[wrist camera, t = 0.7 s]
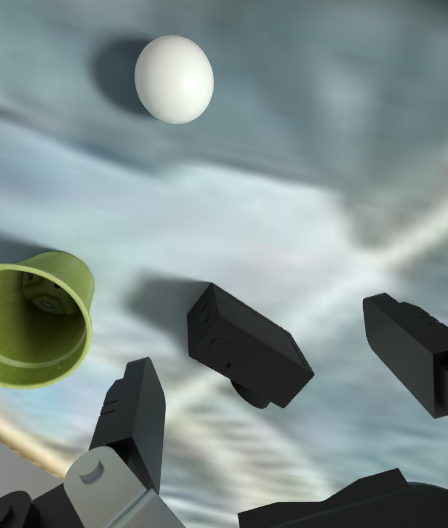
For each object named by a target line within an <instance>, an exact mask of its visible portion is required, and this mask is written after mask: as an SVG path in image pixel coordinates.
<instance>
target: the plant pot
mask: <svg viewBox="0 0 448 528" xmlns="http://www.w3.org/2000/svg"><path fill="white" fill-rule="evenodd" d="M29 273H34V274H33V276H32V279H31V280H30V279H29V278H28V276H29ZM55 283H56V284H58V285H59V286H60V287H59V288H56V287H55ZM93 293H94V280H93V277H92V275H91V273H90V271H89V269H88V267H87V266H86V265H85V264H84V262H82V261H81V260H80V259H79V258H77V257H75V256H73V255H71V254H68V253H65V252H59V251H51V252H45V253H41V254H39V255H36V256H33V257H31V258H29V259H26V260H24V261H21V262H18V263H16V264H15V263H0V387H4V388H9V389H36V388H42V387H46V386H49V385H52V384H55V383H57V382H59V381H61V380H63V379H64V378H66V377H67V376H69V375H70V374H72V373H73V372H74V371H75V370H76V369H77V368H78V367H79V366H80V365H81V363H82V362H83V360H84V359H85V357H86V355H87V353H88V351H89V348H90V344H91V339H92V323H91V318H90V315H89V310H90V306H91V301H92V297H93ZM42 301H45V302H47V303H49V304H51V305H54V306H56V307H57V308H50V307H47V306H45V305H43V303H42Z"/></svg>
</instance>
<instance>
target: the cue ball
mask: <svg viewBox="0 0 448 528" xmlns="http://www.w3.org/2000/svg"><path fill="white" fill-rule="evenodd" d="M213 85H214V79H213V72H212V68H211V65H210V63H209V61H208V59H207V57H206V55H205V54H204V52H203V51H202V50H201V49H200V48H199V47H198V46H197V45H196V44H195V43H193V42H192V41H191V40H189V39H187V38H184V37H181V36H176V35H166V36H162V37H159V38H157V39H154V40H153V41H151V42H150V43H149V44H148V45H147V46H146V47H145V48H144V49H143V51H142V52H141V54H140V56H139V58H138V60H137V63H136V67H135V86H136V90H137V93H138V96H139V98H140V100H141V102H142V104H143V105H144V107H145V108H146V109H147V110H148V111H149V112H150V113H151V114H152V115H153V116H154V117H156V118H157V119H159V120H161V121H164V122H167V123H171V124H183V123H187V122H190V121H192V120H194V119H195V118H197V117H198V116H200V115H201V114H202V113H203V111H204V110H205V109H206V107H207V106H208V104H209V102H210V100H211V97H212V93H213Z"/></svg>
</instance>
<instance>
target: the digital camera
mask: <svg viewBox="0 0 448 528" xmlns="http://www.w3.org/2000/svg"><path fill="white" fill-rule="evenodd" d="M194 313H195V314H194ZM193 315H194V316H193ZM187 325H188V350H189V356H190V357H191V358H193V359H195V360H197V361H199V362H200V363H202V364H204V365H206V366H208V367H209V368H211V369H213V370H215V371H217V372H218V373H220V374H222V375H224V376H225V377H227V378H229V379H230V380H231V383H232V385H233V387H234V388H235V390H236V391H237V392H238V394H239V395H240V396H241V397H242V398H243V399H244V400H245V401H247V402H248V403H249V404H251V405H252V406H254V407H256V408H260V409H264V408H266V407H267V406H268V404H269V403H270V402H272V403H274V404H276V405H277V406H279V407H281V408H285V407H286V406H287V405H288V404H289V403H290V402H291V400H292V399H293V398H294V397H295V396H296V395H297V394H298V393H299V392H300V391H301V389H302V388H303V387H304V386H305V385H306V384H307V383H308V382H309V381H310V380H311V379H312V378H313V376H314V375H315V374H314V372H313V371H312V369H311V367H310V365H309V364H308V362H307V360H306V359H305V357H304V355H303V354H302V352H301V350H300V349H299V347H298V345H297V344H296V342H295V340H294V339H293V337H292V335H291V334H290V333H289V332H287V331H286V330H284V329H283V328H281V327H280V326H278V325H277V324H275V323H274V322H272V321H271V320H269V319H267V318H266V317H264V316H263V315H261V314H260V313H258V312H257V311H255V310H254V309H252V308H251V307H249V306H247V305H246V304H244V303H243V302H241V301H240V300H238V299H237V298H235V297H234V296H232V295H231V294H229V293H228V292H226V291H224V290H223V289H221V288H220V287H218V286H217V285H215V284H214V283H211V284H210V286H209V287H208V288H207V289H206V291H205V292H204V293H203V295H202V296H201V297H200V298H199V300H198V301H197V302H196V304H195V305H194V306H193V308H192V309H191V310H190V311H189V313H188V314H187Z"/></svg>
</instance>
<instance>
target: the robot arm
mask: <svg viewBox="0 0 448 528" xmlns="http://www.w3.org/2000/svg"><path fill="white" fill-rule="evenodd" d="M363 312H364V321H365V330H366V337H367V340H368V343H369V345H370V347H371V349H372V350H373V351H374V352H375V354H376V355H377V356H378V357H379V358H380V359H381V360H382V361H383V362H384V364H385V365H386V366H387V367H388V368H389V369H390V370H391V371H392V372H393V373H394V375H395V376H396V377H397V378H398V379H399V380H400V381H401V382H402V383H403V385H404V386H405V387H406V388H407V389H408V390H409V391H410V392H411V393H412V395H413V396H414V397H415V398H416V399H417V400H418V401H419V402H420V403H421V405H422V406H423V407H424V408H425V409H426V410H427V411H428V412H429V413H430V415H431V416H432V417H433V418H434V419H436V418H440V417H443V416H447V415H448V327H447V326H446V325H444V324H443V323H440V322H439V321H438V320H437V319H436V318H434V317H433V316H430V314H428V313H427V312H426V311H424V310H423V309H421V308H420V307H418V306H415V305H412V304H409V303H406V302H401V303H399V302H397V301H396V300H395V299H393V298H392V297H391V296H389V295H388V294H387V293H382V294H378V295H374V296H371V297H367V298H364V299H363ZM103 404H104V406H102V409H101V413H100V415H101V416H99V419H98V422H97V425H96V428H95V432H94V435H93V438H92V441H91V444H90V447H89V451H88V452H86V453H84V454H83V455H82V456H80V457H79V458H78V459H77V460H76V461H75V462H74V463H73V464H72V466H71V467H70V468H69V470H68V472H67V474H66V476H65V479H64V483H62V484H61V485H59V486H57V487H55V488H54V489H52V490H50V491H48V492H47V493H45V494H43V495H41V496H39V497H38V498H36V499H34V500H32V498H31V497H30V496H29V494H28V493H27V492H25V491H15V492H11V493H9V494H7V495H5V496H3V497H1V498H0V528H186V527H185V526H184V525H183V524H182V523H181V521H180V520H179V519H178V518H177V517H176V516H175V514H174V513H173V512H172V511H171V510H170V509H169V507H168V506H167V505H166V504H165V503H164V502H163V500H162V499H161V498H160V497H159V496H158V495H159V490H160V476H161V463H162V450H163V437H164V423H165V410H166V403H165V396H164V392H163V389H162V387H161V384H160V381H159V379H158V376H157V374H156V371H155V369H154V366H153V364H152V361H151V359H150V358H149V357H146V358H142V359H139V360H135V361H131V362H128V363H127V366H126V370H125V373H124V377H123V378H122V379H119V380H116V381H115V382H114V384H113V385H112V386H111V387H110V389H109V390H108V391H107V394H106V397H105V400H104V403H103ZM238 519H239V526H240V528H448V489H445V488H442V487H438V486H435V485H431V484H426V483H419V482H407V481H406V479H405V478H404V476H403V475H402V473H401V472H400V470H399V469H398V468H396V469H393V470H389V471H385V472H382V473H378V474H375V475H371V476H368V477H364V478H361V479H358V480H357V481H355V482H353V483H352V484H350V485H349V486H347V487H345V488H344V489H342V490H341V491H339V492H337V493H336V494H334V495H333V496H331V497H329V498H328V499H326V500H324V501H321V502H276V503H272V504H269V505H265V506H262V507H258V508H255V509H251V510H248V511H244V512H241V513H238Z"/></svg>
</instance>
